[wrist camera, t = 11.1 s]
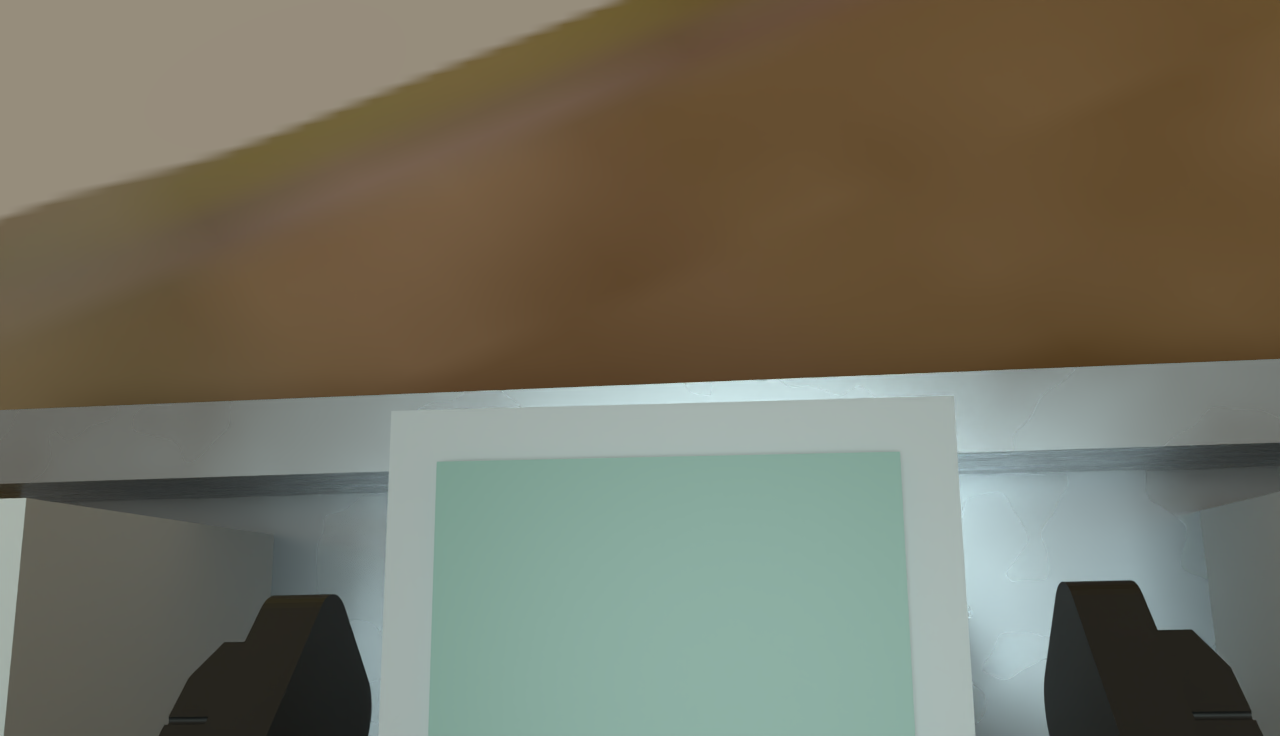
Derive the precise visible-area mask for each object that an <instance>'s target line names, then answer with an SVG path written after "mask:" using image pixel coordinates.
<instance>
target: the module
mask: <svg viewBox="0 0 1280 736" xmlns="http://www.w3.org/2000/svg"><path fill="white" fill-rule="evenodd" d="M378 736H976V735H975V720H974V704H973V689H972V673H971V658H970V642H969V627H968V611H967V595H966V580H965V564H964V549H963V533H962V518H961V502H960V487H959V471H958V456H957V440H956V425H955V409H954V396H927V397H890V398H853V399H816V400H779V401H742V402H705V403H668V404H631V405H594V406H557V407H520V408H483V409H446V410H409V411H391V433H390V458H389V483H388V508H387V533H386V558H385V583H384V608H383V633H382V658H381V683H380V708H379V734H378Z"/></svg>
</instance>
